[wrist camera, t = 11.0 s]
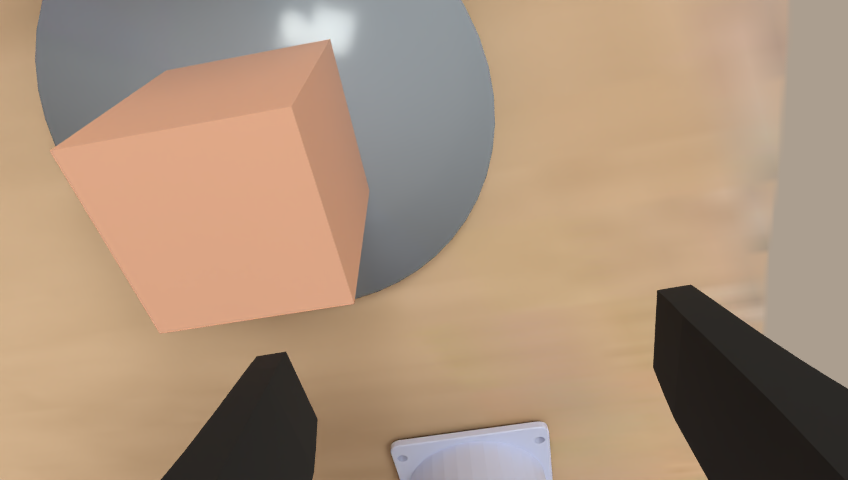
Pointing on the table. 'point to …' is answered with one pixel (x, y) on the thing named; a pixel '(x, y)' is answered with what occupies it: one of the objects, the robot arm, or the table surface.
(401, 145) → the dish
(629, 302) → the table surface
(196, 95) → the block
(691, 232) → the table surface
